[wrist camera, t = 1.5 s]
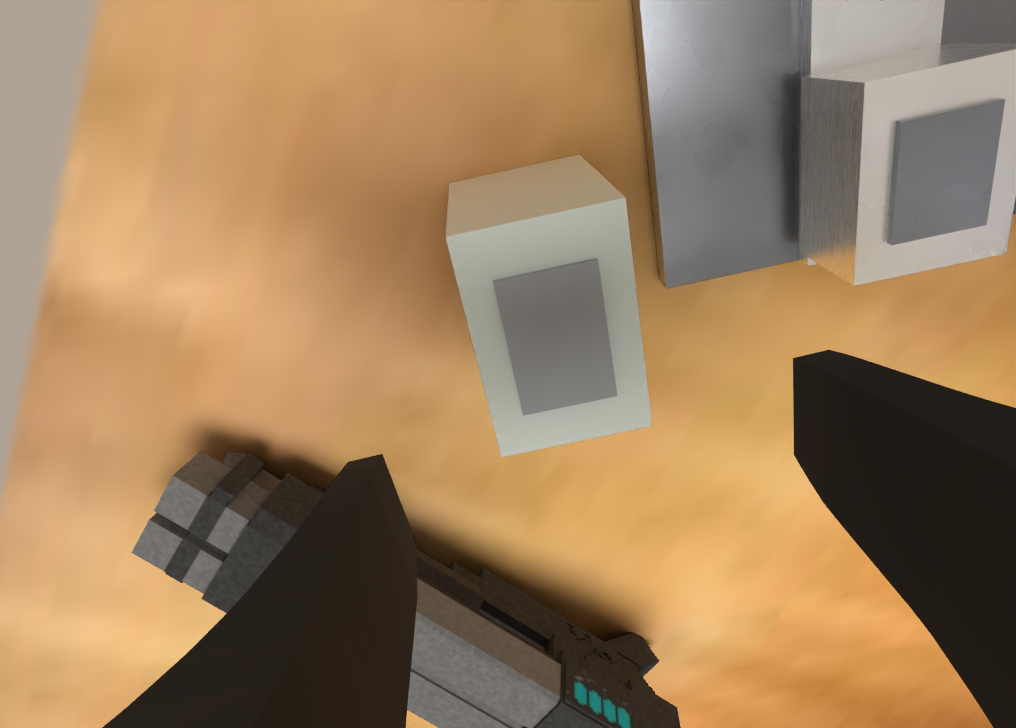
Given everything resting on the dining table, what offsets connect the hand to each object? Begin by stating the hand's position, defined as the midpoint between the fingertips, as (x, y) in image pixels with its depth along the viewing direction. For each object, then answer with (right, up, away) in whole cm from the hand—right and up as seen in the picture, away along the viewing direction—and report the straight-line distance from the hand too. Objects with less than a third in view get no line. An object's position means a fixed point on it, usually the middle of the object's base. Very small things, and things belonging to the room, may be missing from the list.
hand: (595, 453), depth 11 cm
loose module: (-1, +5, +9) cm, 11 cm away
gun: (-4, -7, +15) cm, 17 cm away
